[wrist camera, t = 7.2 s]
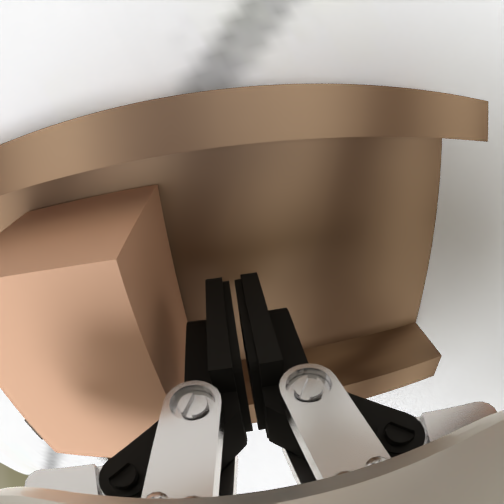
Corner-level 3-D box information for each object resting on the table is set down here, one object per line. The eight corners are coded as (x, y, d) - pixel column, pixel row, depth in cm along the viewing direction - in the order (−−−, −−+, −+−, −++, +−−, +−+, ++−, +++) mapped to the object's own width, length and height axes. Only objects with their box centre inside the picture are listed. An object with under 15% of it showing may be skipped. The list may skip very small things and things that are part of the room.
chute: (428, 92, 12) (502, 101, 8) (402, 333, 18) (439, 386, 14) (-29, 159, 10) (-94, 189, 6) (61, 380, 17) (41, 439, 12)
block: (157, 184, 11) (116, 259, 6) (194, 348, 15) (196, 456, 10) (26, 212, 11) (-59, 287, 6) (85, 357, 14) (56, 452, 9)
